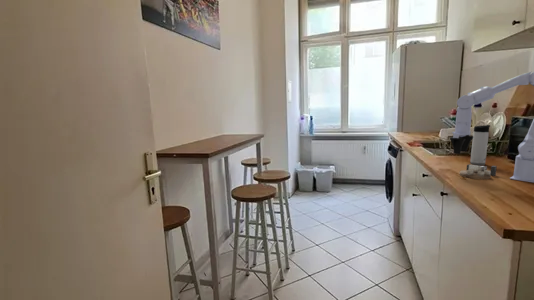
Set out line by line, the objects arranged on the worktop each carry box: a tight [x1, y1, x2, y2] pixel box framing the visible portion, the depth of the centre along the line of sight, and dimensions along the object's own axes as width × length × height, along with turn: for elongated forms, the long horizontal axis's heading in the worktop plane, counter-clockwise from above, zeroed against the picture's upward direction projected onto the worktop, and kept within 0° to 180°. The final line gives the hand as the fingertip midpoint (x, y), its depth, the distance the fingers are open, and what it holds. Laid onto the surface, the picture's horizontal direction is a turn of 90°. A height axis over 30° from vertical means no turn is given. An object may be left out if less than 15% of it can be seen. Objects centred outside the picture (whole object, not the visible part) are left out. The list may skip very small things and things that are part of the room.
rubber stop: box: [490, 165, 498, 177], centre depth 126 cm, size 1×2×4 cm, turn 128°
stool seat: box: [459, 169, 491, 180], centre depth 125 cm, size 11×11×3 cm
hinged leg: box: [465, 163, 488, 172], centre depth 127 cm, size 7×2×3 cm, turn 38°
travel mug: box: [469, 124, 491, 166], centre depth 146 cm, size 6×7×20 cm
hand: (460, 152), depth 131 cm, fingers open, 7 cm apart
